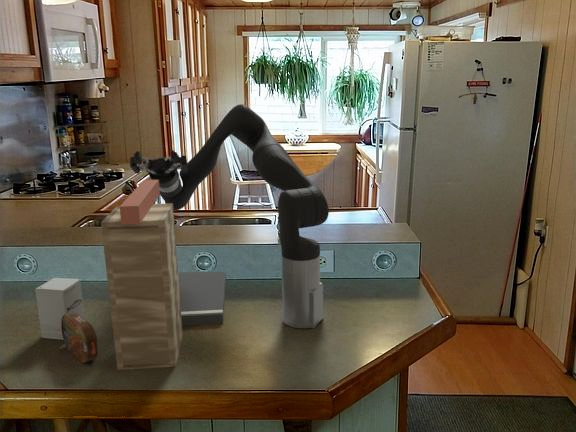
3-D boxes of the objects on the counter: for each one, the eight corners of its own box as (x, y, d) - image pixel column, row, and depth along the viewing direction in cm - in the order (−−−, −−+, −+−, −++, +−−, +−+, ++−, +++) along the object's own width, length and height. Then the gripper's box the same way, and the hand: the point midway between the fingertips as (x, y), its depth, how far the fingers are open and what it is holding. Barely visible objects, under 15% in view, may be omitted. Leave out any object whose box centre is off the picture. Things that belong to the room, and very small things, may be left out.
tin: (62, 343, 121) (57, 310, 118) (75, 339, 123) (71, 306, 120) (87, 369, 110) (83, 333, 108) (102, 364, 112) (98, 328, 110)
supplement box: (69, 341, 122) (62, 290, 118) (41, 338, 123) (33, 288, 120) (87, 326, 129) (81, 278, 125) (60, 324, 130) (53, 276, 127)
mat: (165, 281, 156) (164, 272, 156) (225, 278, 158) (225, 270, 157) (148, 327, 128) (147, 317, 127) (223, 323, 129) (222, 313, 128)
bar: (144, 194, 124) (143, 180, 123) (159, 194, 125) (158, 179, 124) (121, 224, 99) (119, 206, 98) (140, 223, 100) (138, 205, 99)
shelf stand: (130, 337, 123) (117, 205, 114) (182, 334, 124) (172, 203, 115) (117, 370, 109) (100, 222, 101) (175, 366, 110) (164, 220, 102)
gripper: (139, 163, 146) (125, 140, 131) (190, 162, 147) (183, 139, 132) (138, 189, 144) (125, 169, 129) (190, 187, 145) (183, 167, 130)
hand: (154, 154), depth 130 cm, fingers open, 8 cm apart
